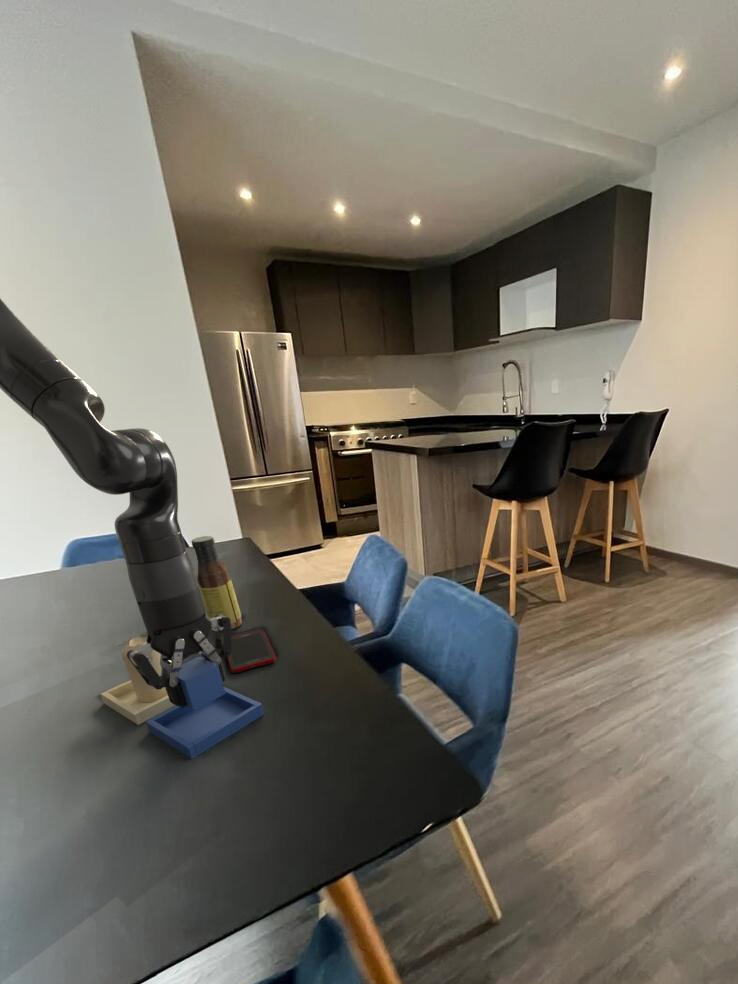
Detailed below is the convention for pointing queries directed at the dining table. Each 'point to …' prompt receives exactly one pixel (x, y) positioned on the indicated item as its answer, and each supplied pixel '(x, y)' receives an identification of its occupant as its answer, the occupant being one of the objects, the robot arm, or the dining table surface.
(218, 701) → the blue tray
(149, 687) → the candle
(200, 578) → the sauce bottle
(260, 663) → the cell phone
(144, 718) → the ivory tray
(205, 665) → the blue block
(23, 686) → the dining table surface
